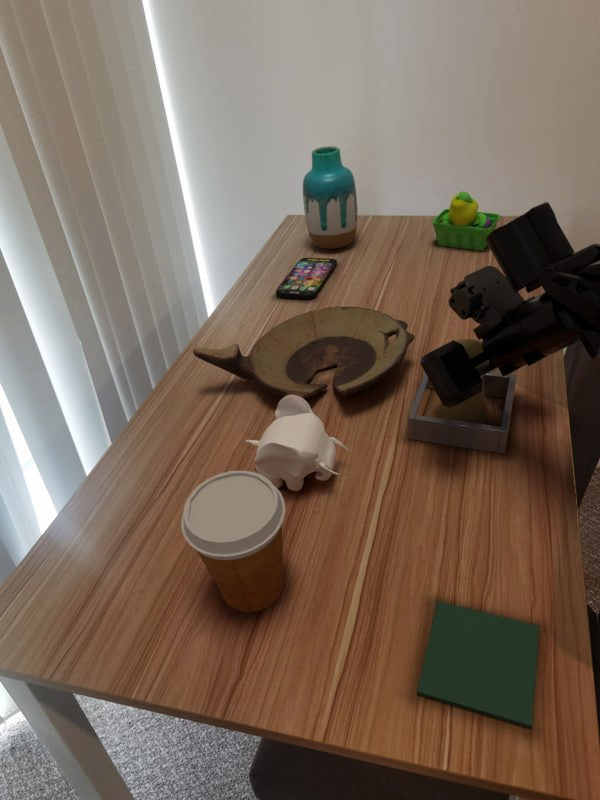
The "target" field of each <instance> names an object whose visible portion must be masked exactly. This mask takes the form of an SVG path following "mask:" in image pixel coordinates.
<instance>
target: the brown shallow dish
mask: <svg viewBox="0 0 600 800" xmlns="http://www.w3.org/2000/svg"><path fill="white" fill-rule="evenodd" d="M408 327H409V325H408V323H407V322H406V321H405V320H402V319H401V320H400V319H396V318H394V317H392V316H391V315H389V314H387V313H384V312H381V311H378V310H375V309H371V308H365V307H360V306H328V307H324V308H321V309H314V310H309V311H307V312H303V313H301V314H298V315H294V316H293V317H290V318H289V319H286V320H284V321H282V322H281V323H279V324H277V325H276V326H274V327H273V328H272V329H270V330H269V331H268V332H266V333H264V335H263V336H261V337H260V338H259V339H258V340H257V341H256V343H255V344H254V346H253V347H252V349H251V351H250V354H249V355H248V356H246V355H242V352H241V349H240V346H239V344H238V343H233V344H232V345H229V346H227V347H224V348H218V349H217V348H207V347H206V348H204V347H196V348H193V350H192V354H193V355H194V356H195V357H196V358H198V359H199V360H201V361H204V362H206V363H208V364H210V365H212V366H214V367H217V368H219V369H221V370H224V371H225V372H227V373H229V374H232V375H234V376H236V377H237V378H240V379H242V380H245V381H257V383H259V385H260V386H262V387H263V388H265V389H266V390H268V391H269V392H272V393H274V394H277V395H281V396H284V397H286V396H288V395H296V396H299V397H301V398H303V399H305V398H309V397H312V396H315V395H318V394H319V393H322V392H323V391H325V390H326V389H327V388H328V387H329V385H328V384H326V381H325V382H315V383H309V382H310V381H311V380H312V379H313V378H314V376H315V374H316V373H317V372H319V371H324V370H325V369H330V368H332V367H335V366H336V369H335V370H334V373H333V377H332V384H331V385H332V387H333V390H335V392H337V393H338V394H340V395H342V396H348V395H351V394H354V393H356V392H359V391H361V390H364V389H366V388H368V387H370V386H372V385H374V384H376V383H377V382H379V381H381V380H382V379H383V378H385V377H386V376H388V375H389V374H390V373H392V371H394V370H395V369H396V367H398V365H400V363H401V362H402V361H403V359H404V358H405V356H406V354H407V353H408V350H409V349H408V348H409V347H410V345H411V343H412V342H414V340H415V337H416V336H415V334H413V333H411V332H409V331H408V330H407V329H408ZM392 336H395V338H394V339H391V341H390V342H389V341H388V340H389V338H390V337H392Z"/></svg>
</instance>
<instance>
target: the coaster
mask: <svg viewBox="0 0 600 800" xmlns="http://www.w3.org/2000/svg"><path fill="white" fill-rule="evenodd" d="M539 637H540V625H539V624H535V623H530V622H526V621H522V620H519V619H514V618H510V617H506V616H502V615H497V614H494V613H489V612H486V611H481V610H478V609H473V608H470V607H466V606H461V605H458V604H453V603H448V602H444V601H440V600H437V601H436V605H435V609H434V614H433V618H432V623H431V628H430V633H429V636H428V641H427V645H426V649H425V654H424V659H423V663H422V667H421V672H420V676H419V679H418V685H417V690H416V694H417V696H421V697H424V698H427V699H431V700H433V701H437V702H440V703H444V704H447V705H449V706H453V707H457V708H460V709H464V710H466V711H470V712H473V713H477V714H480V715H483V716H485V717H490V718H493V719H496V720H500V721H504V722H507V723H511V724H512V725H516V726H520V727H523V728H526V729H530V730H531V729H532V726H533V716H534V703H535V691H536V676H537V664H538V652H539V639H540V638H539Z"/></svg>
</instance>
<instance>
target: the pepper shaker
mask: <svg viewBox="0 0 600 800" xmlns="http://www.w3.org/2000/svg"><path fill="white" fill-rule="evenodd" d="M455 341H456V342H458V343H460V344H462V345H463V346H464V348H465V350H466V352H467V354H468V355H469V357H470V359H471V358H473V357H475V356H476V355H478V354H480V353H482V352H483V348H482V341H480V340H478V339H473V338H460V339H456V340H455ZM486 363H489V360H487V361H485V362H483V363H482V364H480V365H478V366H476V367H475V368H476V369H477V368H479V367H481V366H482V365H484V364H486ZM481 379H482V381H483V385H482V391H481V392H479V393H478V394H476V395H474V396H472V397H471V398H469V399H467V400H465V401H464V402H462V403H460V404H458V405H455V406H453V407H451V408H449V407H446V406H443V404H442V402H441V401H440V407H439V412H438V418H441V419H448V420H455V421H462V422H470V423H477V424H484V425H486V423H487V421H488V418H487V417H488V416H487V405H486V404H487V403H486V396H485V389H484V377H483V376H482V377H481Z"/></svg>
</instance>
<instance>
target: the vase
mask: <svg viewBox="0 0 600 800" xmlns="http://www.w3.org/2000/svg"><path fill="white" fill-rule="evenodd" d="M302 200H303V210H304V218H305V223H306V229H307V232H308V236H309V238H310V240H311V241H312V243H313V244H314V245H316V246H317V247H319V248H321V249H327V250H336V249H341V248H343V247H345V246H347V245H349V244H350V243H352V241H354V238H355V237H356V235H357V230H358V200H357V187H356V181H355V177H354V174H353V172H352V171H351V169H350V168H348V167H346V166H344V165H343V162H342V156H341V150H340V148H339V147H338V146H334V145H328V146H326V145H325V146H321V147H317V148H315V149H313V150H311V169H310V170H309V171H308V172H307V173H305V175H304V177H303V181H302Z"/></svg>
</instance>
